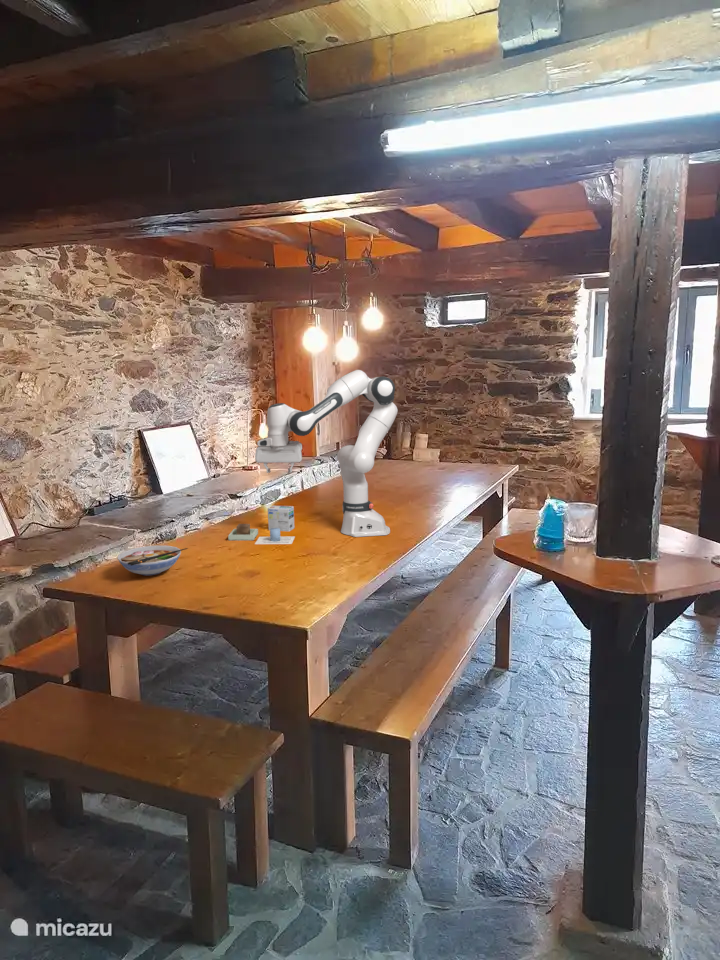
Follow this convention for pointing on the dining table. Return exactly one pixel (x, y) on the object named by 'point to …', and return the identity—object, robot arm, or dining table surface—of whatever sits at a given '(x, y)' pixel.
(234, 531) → the tray
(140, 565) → the ramen bowl
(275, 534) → the blue cylinder
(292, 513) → the light bulb box
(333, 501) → the dining table surface
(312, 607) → the dining table surface
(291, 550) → the dining table surface
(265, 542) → the letter
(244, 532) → the walnut block
